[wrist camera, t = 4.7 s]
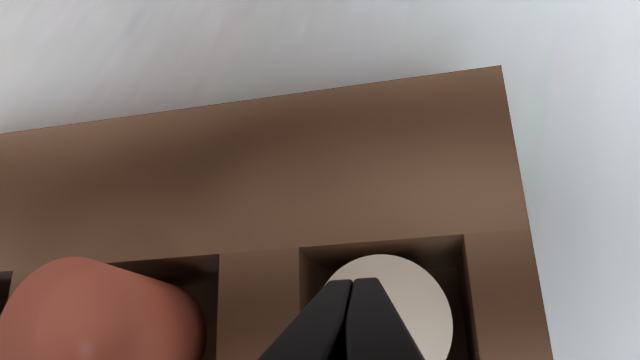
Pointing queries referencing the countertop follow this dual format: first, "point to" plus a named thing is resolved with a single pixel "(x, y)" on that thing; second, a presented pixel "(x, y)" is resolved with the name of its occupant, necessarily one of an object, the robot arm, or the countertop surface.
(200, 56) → the countertop surface
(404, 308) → the white key
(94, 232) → the wooden socket block
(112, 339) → the brick key
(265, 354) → the robot arm
